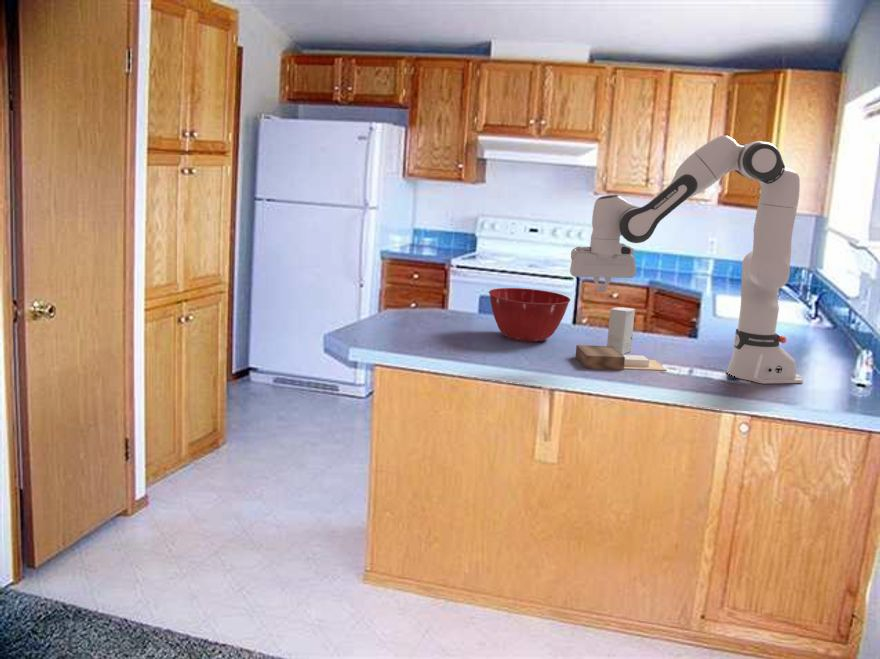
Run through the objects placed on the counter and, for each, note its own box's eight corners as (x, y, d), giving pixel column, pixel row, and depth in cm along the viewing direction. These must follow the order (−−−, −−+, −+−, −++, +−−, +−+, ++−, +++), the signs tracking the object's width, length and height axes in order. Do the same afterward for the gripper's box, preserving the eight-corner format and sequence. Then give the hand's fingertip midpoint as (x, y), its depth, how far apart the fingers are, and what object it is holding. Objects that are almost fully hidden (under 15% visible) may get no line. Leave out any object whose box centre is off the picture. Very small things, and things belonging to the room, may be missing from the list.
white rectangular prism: (643, 361, 281) (643, 355, 281) (648, 366, 275) (649, 360, 275) (615, 360, 280) (616, 354, 280) (620, 365, 274) (621, 359, 274)
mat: (654, 361, 284) (654, 360, 284) (666, 370, 273) (666, 369, 273) (612, 359, 283) (612, 358, 283) (622, 368, 271) (622, 367, 271)
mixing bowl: (564, 332, 319) (568, 291, 316) (568, 350, 291) (572, 305, 288) (487, 326, 322) (490, 285, 318) (483, 343, 294) (486, 298, 291)
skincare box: (622, 355, 289) (626, 311, 286) (605, 352, 292) (609, 308, 289) (631, 351, 296) (636, 308, 293) (614, 348, 299) (619, 305, 296)
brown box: (611, 358, 284) (613, 346, 283) (623, 369, 270) (624, 357, 270) (575, 356, 283) (576, 344, 282) (585, 368, 270) (586, 355, 269)
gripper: (573, 247, 268) (570, 292, 271) (639, 249, 270) (635, 293, 273) (569, 245, 274) (566, 288, 277) (633, 247, 276) (629, 290, 279)
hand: (601, 291), depth 275 cm, fingers closed
